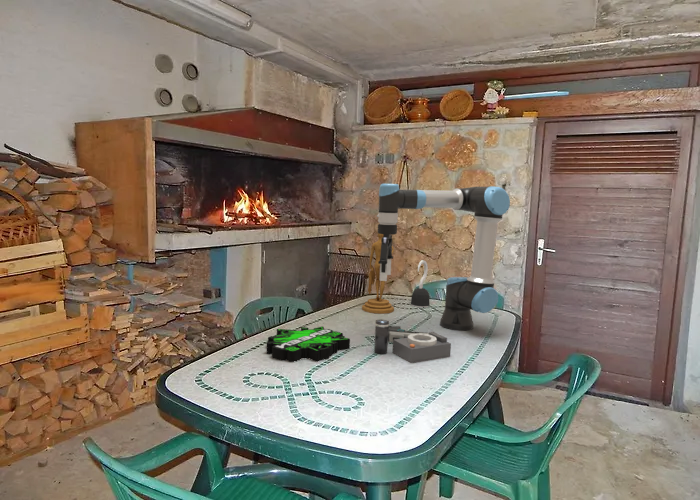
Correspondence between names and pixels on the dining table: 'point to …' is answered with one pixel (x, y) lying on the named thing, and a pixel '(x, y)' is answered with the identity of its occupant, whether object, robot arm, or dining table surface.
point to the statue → (377, 284)
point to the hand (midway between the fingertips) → (385, 277)
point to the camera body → (422, 347)
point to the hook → (421, 290)
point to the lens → (381, 336)
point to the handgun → (399, 333)
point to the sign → (306, 344)
